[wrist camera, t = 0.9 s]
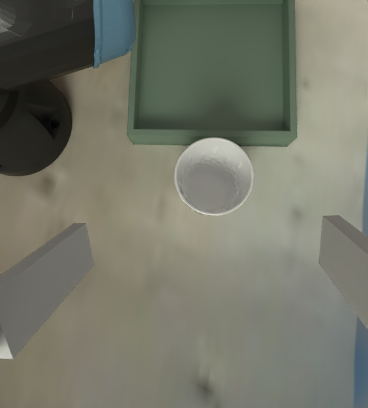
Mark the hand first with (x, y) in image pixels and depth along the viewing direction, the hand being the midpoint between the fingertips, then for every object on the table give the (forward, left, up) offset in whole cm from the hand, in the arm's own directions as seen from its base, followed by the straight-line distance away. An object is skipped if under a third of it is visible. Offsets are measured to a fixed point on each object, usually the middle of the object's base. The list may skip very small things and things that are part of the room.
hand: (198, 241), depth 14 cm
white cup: (-4, +5, -20) cm, 21 cm away
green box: (-17, +16, -20) cm, 31 cm away
